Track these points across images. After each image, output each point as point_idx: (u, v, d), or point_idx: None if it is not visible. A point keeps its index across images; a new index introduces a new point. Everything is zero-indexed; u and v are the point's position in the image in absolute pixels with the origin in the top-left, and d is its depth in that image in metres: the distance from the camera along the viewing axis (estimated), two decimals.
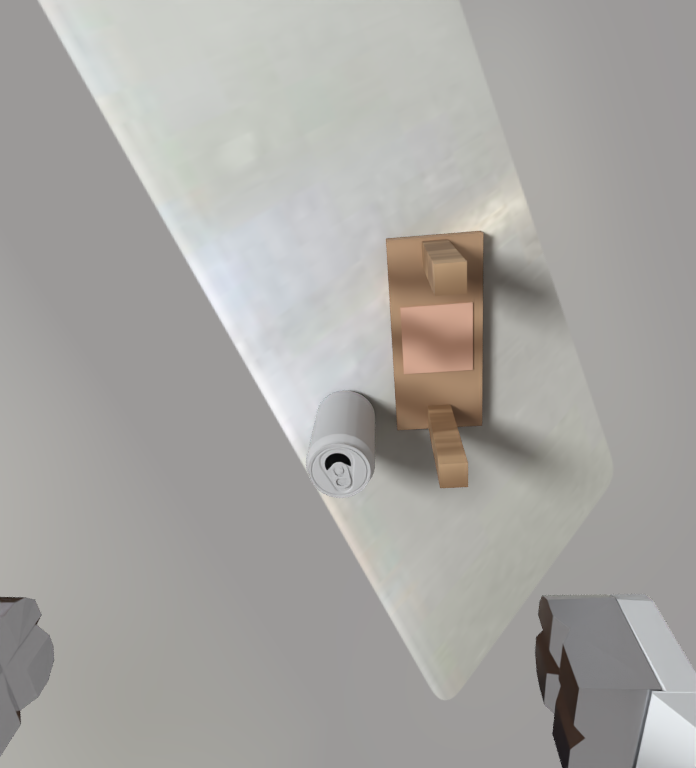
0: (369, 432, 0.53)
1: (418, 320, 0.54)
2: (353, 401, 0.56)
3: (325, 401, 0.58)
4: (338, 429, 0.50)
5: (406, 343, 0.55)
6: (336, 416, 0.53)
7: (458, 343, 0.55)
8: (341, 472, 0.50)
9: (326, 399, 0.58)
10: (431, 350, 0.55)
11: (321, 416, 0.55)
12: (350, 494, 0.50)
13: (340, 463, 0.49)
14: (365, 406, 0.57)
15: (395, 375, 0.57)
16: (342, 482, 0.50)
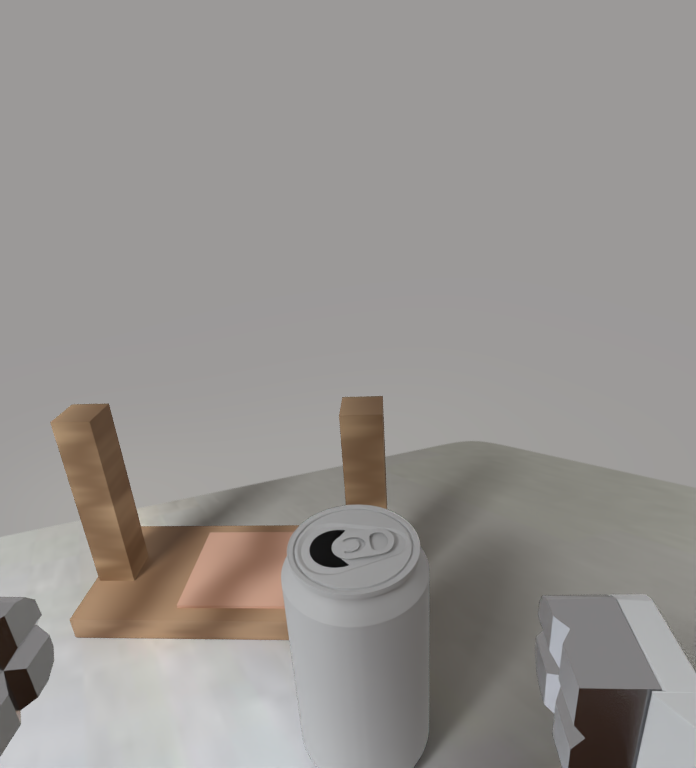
0: None
1: (206, 585, 0.36)
2: None
3: (306, 739, 0.26)
4: None
5: (236, 600, 0.34)
6: None
7: (259, 545, 0.39)
8: (357, 542, 0.23)
9: (306, 742, 0.26)
10: (259, 572, 0.36)
11: (302, 691, 0.24)
12: (412, 533, 0.24)
13: (335, 543, 0.23)
14: None
15: None
16: (383, 544, 0.23)
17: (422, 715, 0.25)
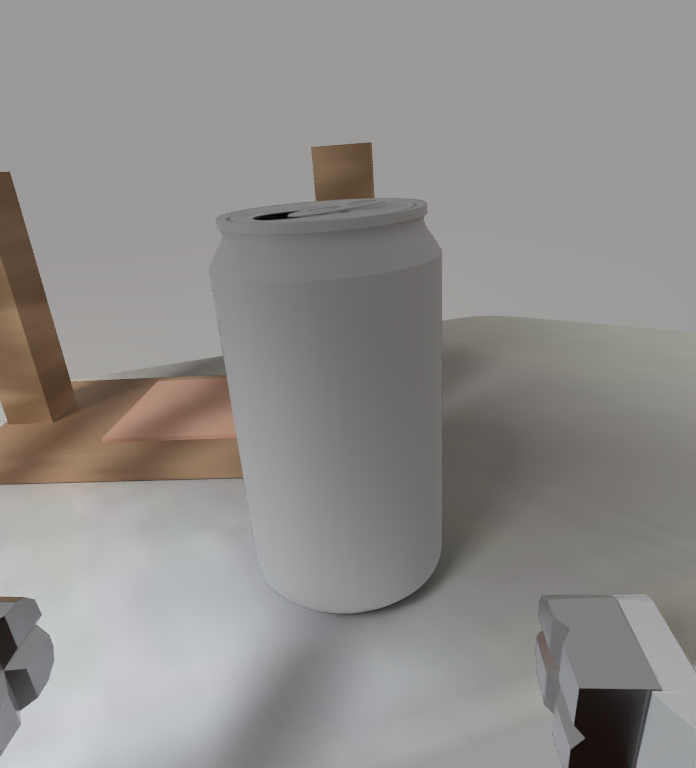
0: None
1: (144, 421, 0.27)
2: None
3: (259, 549, 0.17)
4: None
5: (181, 431, 0.26)
6: None
7: (219, 387, 0.30)
8: (328, 209, 0.15)
9: (260, 557, 0.17)
10: (215, 408, 0.28)
11: (247, 456, 0.16)
12: (414, 201, 0.15)
13: (294, 213, 0.15)
14: None
15: None
16: (368, 209, 0.15)
17: (432, 502, 0.16)
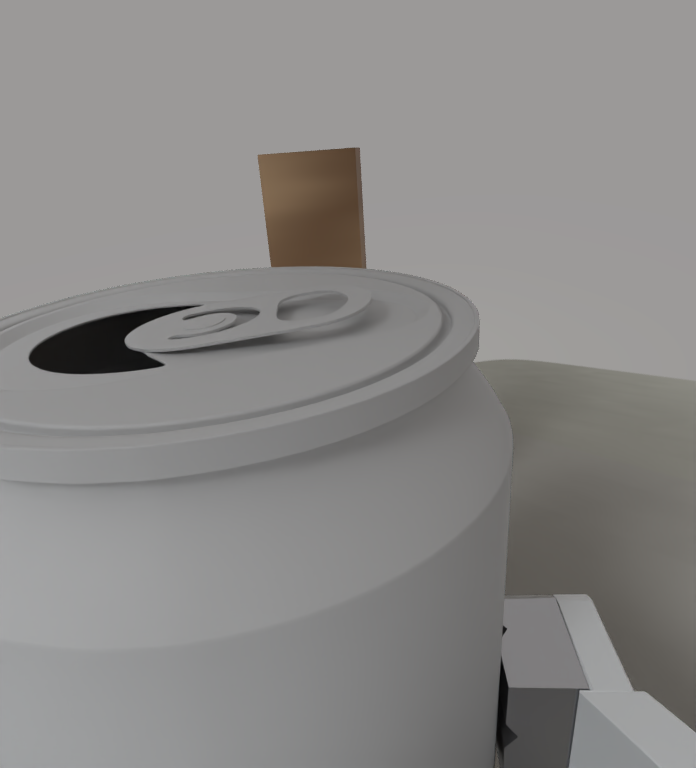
0: None
1: None
2: None
3: None
4: None
5: None
6: None
7: None
8: (232, 318, 0.06)
9: None
10: None
11: None
12: (441, 293, 0.06)
13: (150, 325, 0.06)
14: None
15: None
16: None
17: None
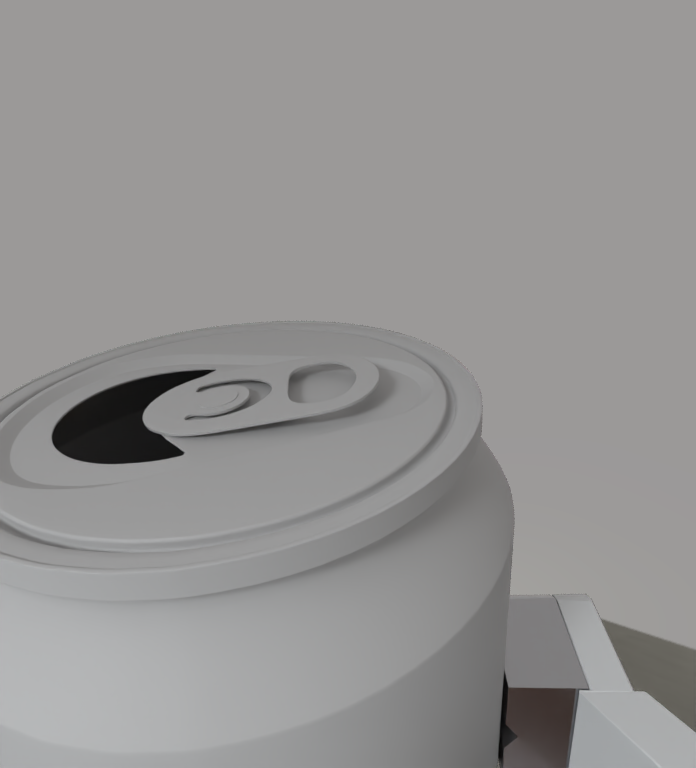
0: None
1: None
2: None
3: None
4: None
5: None
6: None
7: None
8: (246, 391, 0.06)
9: None
10: None
11: None
12: (444, 364, 0.07)
13: (166, 397, 0.06)
14: None
15: None
16: (338, 396, 0.06)
17: None
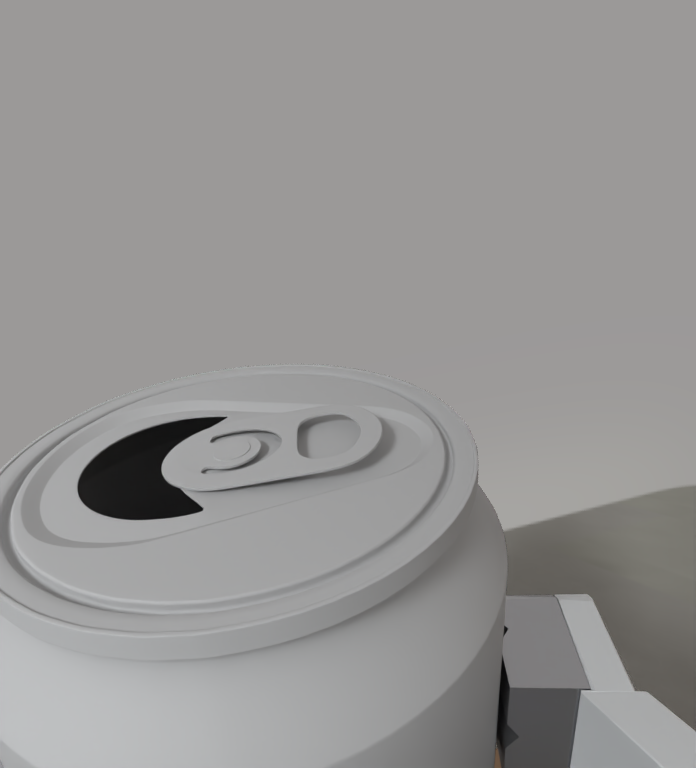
0: None
1: None
2: None
3: None
4: None
5: None
6: None
7: None
8: (257, 442, 0.07)
9: None
10: None
11: None
12: (442, 415, 0.07)
13: (182, 448, 0.07)
14: None
15: None
16: (343, 448, 0.07)
17: None
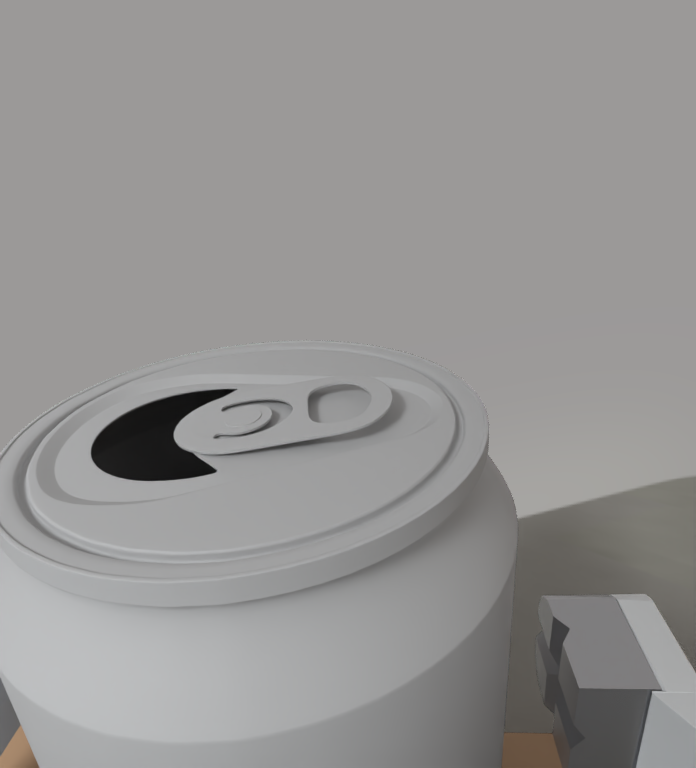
0: None
1: None
2: None
3: None
4: None
5: None
6: None
7: None
8: (268, 411, 0.07)
9: None
10: None
11: None
12: (451, 384, 0.07)
13: (193, 416, 0.07)
14: None
15: None
16: (353, 415, 0.07)
17: None
